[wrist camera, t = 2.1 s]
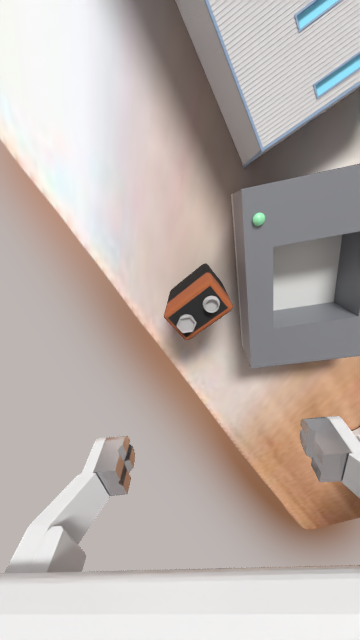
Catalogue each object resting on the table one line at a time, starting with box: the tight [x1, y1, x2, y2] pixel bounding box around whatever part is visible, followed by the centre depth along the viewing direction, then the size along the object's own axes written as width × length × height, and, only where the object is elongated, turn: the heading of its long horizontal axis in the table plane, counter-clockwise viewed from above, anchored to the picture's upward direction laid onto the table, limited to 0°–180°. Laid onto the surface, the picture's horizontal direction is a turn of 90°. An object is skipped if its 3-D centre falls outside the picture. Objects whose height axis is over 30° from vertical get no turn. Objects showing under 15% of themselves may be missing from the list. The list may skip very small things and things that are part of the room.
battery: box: [164, 264, 233, 340], centre depth 27 cm, size 4×7×10 cm, turn 130°
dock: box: [231, 164, 360, 369], centre depth 27 cm, size 22×16×6 cm
